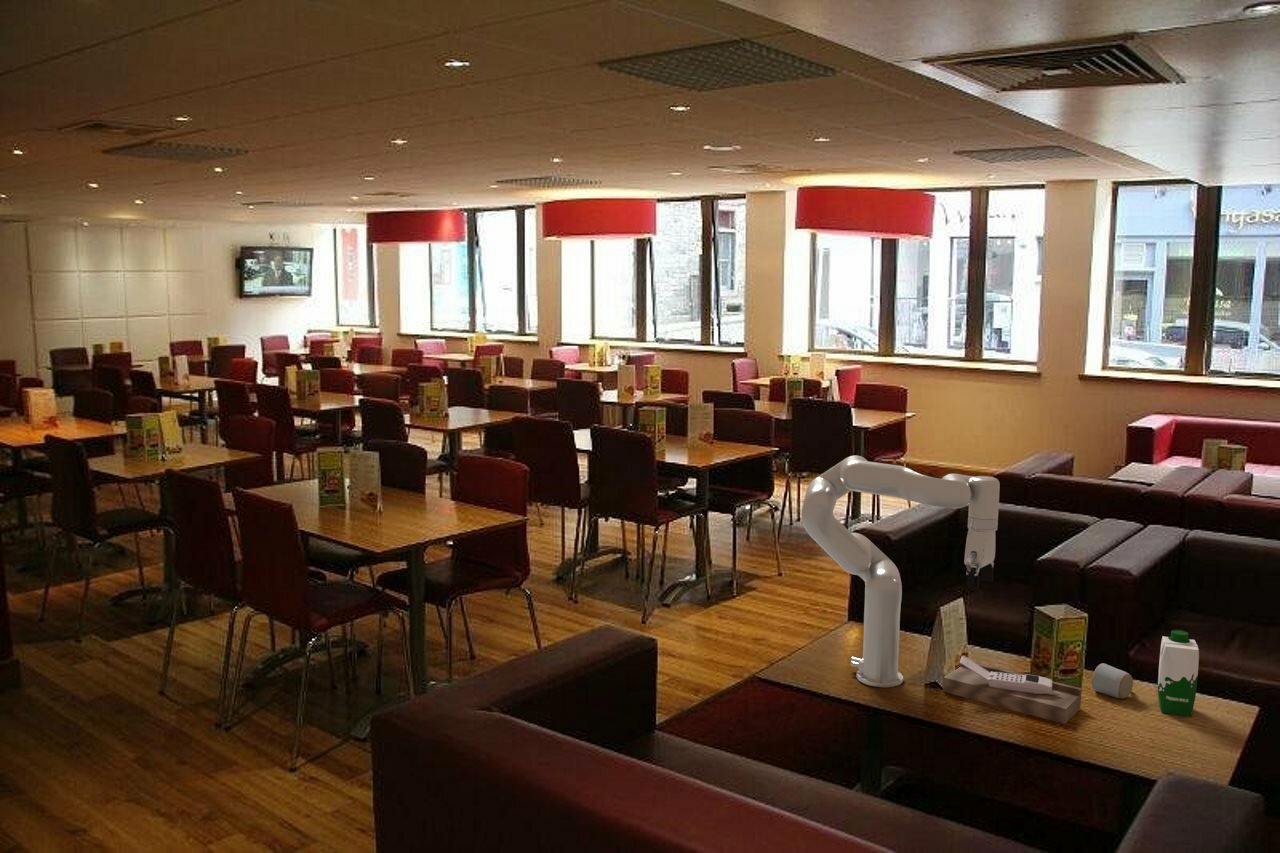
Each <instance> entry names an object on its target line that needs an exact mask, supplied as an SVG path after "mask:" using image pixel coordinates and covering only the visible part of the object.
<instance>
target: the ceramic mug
mask: <svg viewBox="0 0 1280 853" xmlns="http://www.w3.org/2000/svg"><path fill="white" fill-rule="evenodd" d="M1133 686H1134V680H1133V677H1132V675H1131V674H1130V673H1128V672H1127V671H1125V670H1122V669H1118V668H1116V667H1115V666H1112V665H1109V664H1107V663H1103V662H1102V663H1100V664H1098V665H1097V666H1096V668H1095V670H1094V672H1093V675H1092V679H1091V687H1092V689H1093V691H1094V692H1098V693H1101V694H1104V695H1106V696H1111V697H1112V698H1116V699H1120V700H1121V699H1122V700H1124V699H1126V698H1127V697H1129V696H1130V694H1131V692H1132V689H1133Z"/></svg>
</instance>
